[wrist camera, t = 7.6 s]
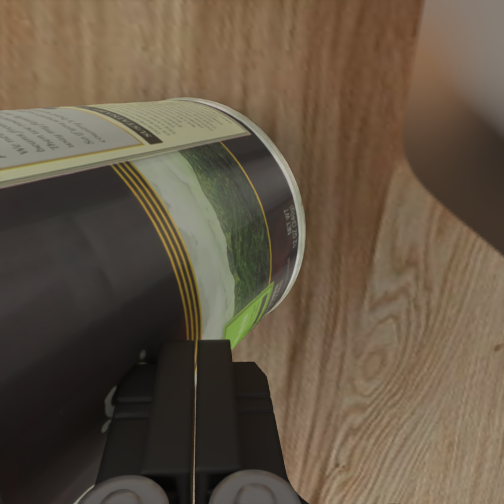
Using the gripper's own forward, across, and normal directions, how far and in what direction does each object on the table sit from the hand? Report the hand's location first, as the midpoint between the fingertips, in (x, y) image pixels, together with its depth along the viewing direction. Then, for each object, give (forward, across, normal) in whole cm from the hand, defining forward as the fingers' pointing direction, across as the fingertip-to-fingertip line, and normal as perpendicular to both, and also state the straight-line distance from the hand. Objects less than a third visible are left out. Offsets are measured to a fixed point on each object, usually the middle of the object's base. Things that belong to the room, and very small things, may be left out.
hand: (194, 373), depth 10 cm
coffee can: (+11, 0, 0) cm, 11 cm away
